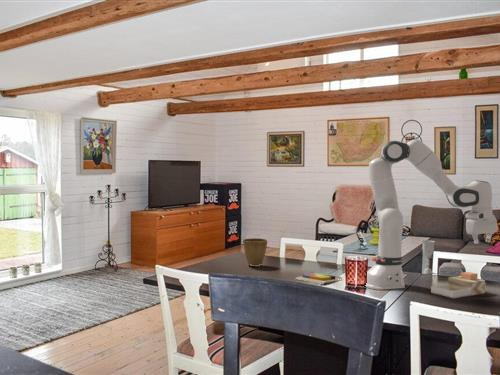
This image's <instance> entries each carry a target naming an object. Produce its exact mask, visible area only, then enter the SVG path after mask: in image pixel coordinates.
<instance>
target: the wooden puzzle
mask: <svg viewBox="0 0 500 375" xmlns="http://www.w3.org/2000/svg"><path fill="white" fill-rule="evenodd" d="M296 279H298V280H304V281H309V282H312V283H316V284H315V285H318V284H322V285H321V286H324V285H325V284H329V283H335V282H334V281H337V282H339V281H338V279H339V280H340V279H342V280H343V278H342V276H340V275H334V274H329V273H328V274H326V273H321V272H320V273H319V272H315V273H314V272H313V273H303V274H302V276H297V277H296V278H295V280H296ZM340 281H341V280H340ZM318 286H319V285H318Z"/></svg>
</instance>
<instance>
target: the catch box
mask: <svg viewBox="0 0 500 375" xmlns="http://www.w3.org/2000/svg"><path fill="white" fill-rule="evenodd" d="M430 293H431V294H434V295H438V296H442V297H444V298H445V297H446V298H450V299H453V300H454V299H459V298H463V297H464V298H465V297H471V296H472V295H471V289H463V290H457V291H454V290H450V284H448V283H446V284H445V283H444V284H439V285H438V284H437V285H431V286H430Z"/></svg>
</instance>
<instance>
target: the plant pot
mask: <svg viewBox="0 0 500 375" xmlns="http://www.w3.org/2000/svg"><path fill="white" fill-rule="evenodd" d="M242 246H243V251H244V254H245V258H246V261H247V264H252V265H259V264H262V265H263V262H264V258H265V255H266V250H267V246H268V239H266V238H255V237H252V238H244V239H242Z"/></svg>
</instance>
